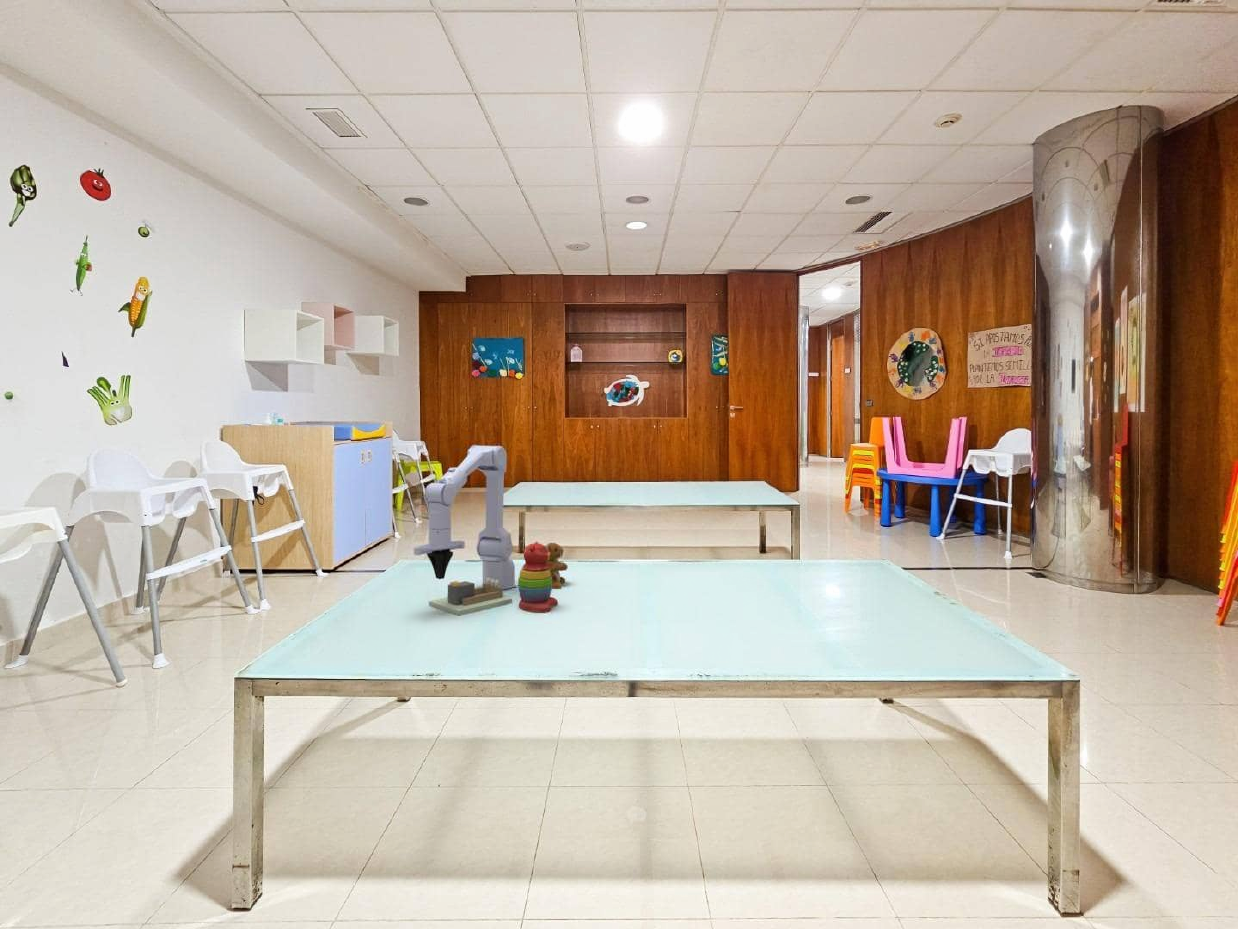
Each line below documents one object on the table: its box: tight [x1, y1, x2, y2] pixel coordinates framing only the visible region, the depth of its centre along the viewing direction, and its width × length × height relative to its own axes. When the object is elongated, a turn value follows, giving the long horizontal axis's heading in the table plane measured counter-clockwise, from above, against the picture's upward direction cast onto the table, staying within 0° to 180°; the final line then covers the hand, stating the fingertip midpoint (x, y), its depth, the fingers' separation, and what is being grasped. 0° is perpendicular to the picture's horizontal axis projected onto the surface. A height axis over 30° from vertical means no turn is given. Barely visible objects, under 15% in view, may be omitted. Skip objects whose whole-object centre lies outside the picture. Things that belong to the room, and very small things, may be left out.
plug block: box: [447, 580, 476, 605], centre depth 192 cm, size 6×4×6 cm, turn 138°
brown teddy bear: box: [525, 542, 568, 590], centre depth 219 cm, size 10×14×13 cm
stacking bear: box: [517, 541, 559, 613], centre depth 193 cm, size 11×10×18 cm
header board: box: [428, 578, 513, 616], centre depth 195 cm, size 18×14×6 cm
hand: (440, 578), depth 187 cm, fingers closed
